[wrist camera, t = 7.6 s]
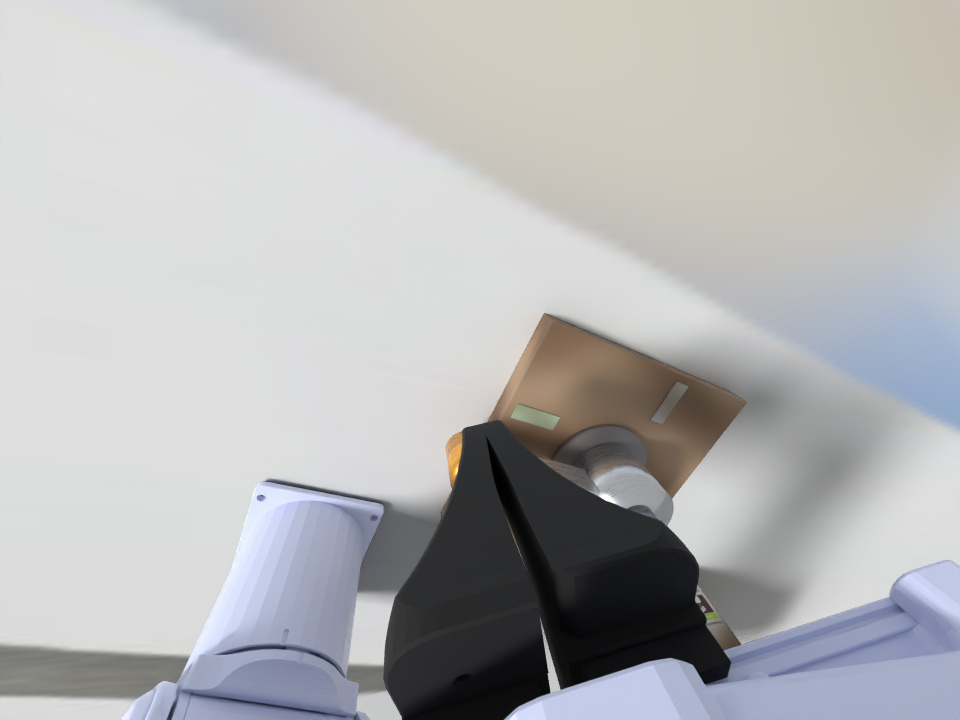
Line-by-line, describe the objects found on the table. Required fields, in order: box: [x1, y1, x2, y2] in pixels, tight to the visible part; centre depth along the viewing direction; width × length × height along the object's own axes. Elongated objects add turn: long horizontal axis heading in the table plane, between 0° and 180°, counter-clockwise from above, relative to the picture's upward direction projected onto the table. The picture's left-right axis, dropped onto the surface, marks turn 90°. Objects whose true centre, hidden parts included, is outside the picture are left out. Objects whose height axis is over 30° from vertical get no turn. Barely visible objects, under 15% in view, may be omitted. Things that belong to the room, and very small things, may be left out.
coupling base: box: [441, 313, 747, 543], centre depth 25 cm, size 16×16×2 cm
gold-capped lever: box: [446, 432, 674, 526], centre depth 21 cm, size 14×5×5 cm, turn 66°
